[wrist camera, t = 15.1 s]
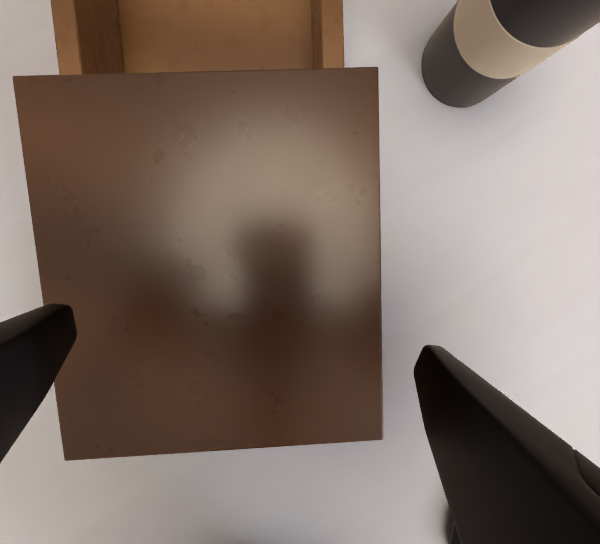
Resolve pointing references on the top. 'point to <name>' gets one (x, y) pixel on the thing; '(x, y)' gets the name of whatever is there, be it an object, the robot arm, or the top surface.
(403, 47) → the top surface
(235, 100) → the cabinet
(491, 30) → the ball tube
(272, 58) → the drawer
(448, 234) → the top surface
